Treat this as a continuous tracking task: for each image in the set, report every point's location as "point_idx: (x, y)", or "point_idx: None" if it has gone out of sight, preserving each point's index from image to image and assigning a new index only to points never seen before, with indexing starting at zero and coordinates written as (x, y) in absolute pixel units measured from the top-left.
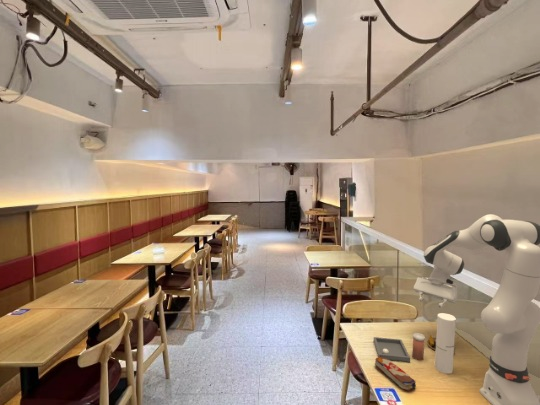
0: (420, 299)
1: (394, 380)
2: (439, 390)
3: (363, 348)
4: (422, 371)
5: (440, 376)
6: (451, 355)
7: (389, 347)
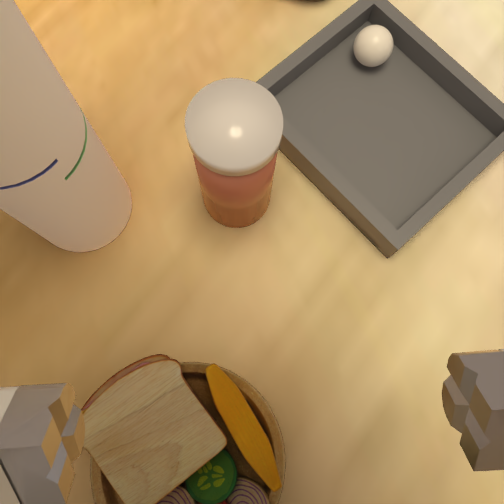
0: (496, 353)
1: None
2: (40, 16)
3: (489, 34)
4: (158, 90)
5: None
6: None
7: (401, 144)
